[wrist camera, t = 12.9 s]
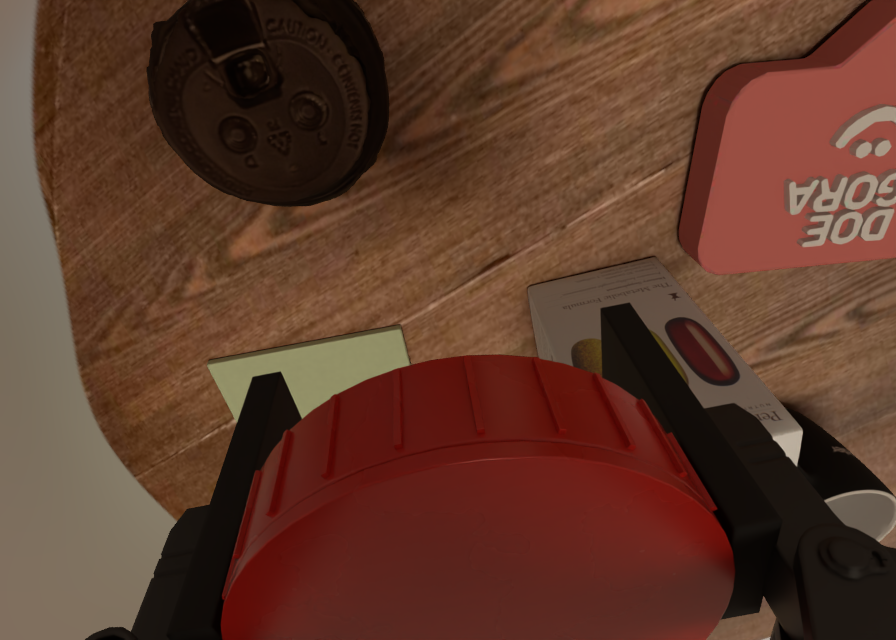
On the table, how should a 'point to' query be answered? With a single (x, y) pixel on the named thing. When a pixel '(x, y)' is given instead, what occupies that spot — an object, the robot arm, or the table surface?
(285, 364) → the mat
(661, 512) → the lid
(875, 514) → the mug
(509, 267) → the table surface
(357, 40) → the coffee cup
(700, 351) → the supplement box
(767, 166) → the plaque
